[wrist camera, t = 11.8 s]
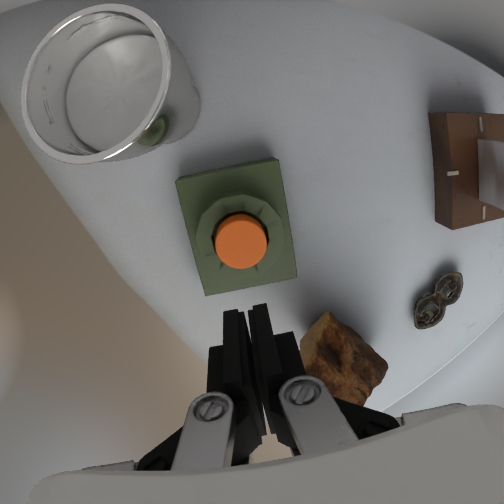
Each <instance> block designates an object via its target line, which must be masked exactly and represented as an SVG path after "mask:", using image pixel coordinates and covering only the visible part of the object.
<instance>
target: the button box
mask: <svg viewBox="0 0 504 504" xmlns="http://www.w3.org/2000/svg"><path fill="white" fill-rule="evenodd" d="M175 184H176V188H177V192H178V196H179V200H180V204H181V208H182V212H183V216H184V220H185V224H186V228H187V231H188V235H189V239H190V243H191V246H192V250H193V254H194V257H195V261H196V265H197V268H198V272H199V275H200V279H201V282H202V286H203V289H204V293H205V296H209V295H215V294H220V293H225V292H230V291H235V290H240V289H245V288H250V287H255V286H260V285H265V284H269V283H274V282H279V281H284V280H288V279H293V278H297V277H298V276H297V269H296V262H295V255H294V249H293V242H292V236H291V230H290V223H289V217H288V211H287V205H286V199H285V193H284V187H283V181H282V176H281V170H280V164H279V160H278V159H276V158H269V159H263V160H258V161H253V162H248V163H242V164H238V165H233V166H228V167H223V168H218V169H214V170H209V171H205V172H200V173H196V174H192V175H188V176H183V177H180V178H178V179H177V180H176V181H175ZM237 214H244V215H249V216H251V217H253V218H255V219H256V220H257V221H258V222H259V223H260V224H261V226H262V228H263V230H264V233H265V236H266V239H267V248H266V252H265V254H264V256H263V258H262V259H261V260H260V261H259V262H258V263H257V264H255V265H253V266H251V267H249V268H244V269H238V268H233V267H230V266H228V265H226V264H225V263H224V262H222V261H221V259H220V258H219V257H218V255H217V252H216V249H215V240H216V233H217V229H218V227H219V225H220V224H221V223H222V222H223V221H224V220H225V219H226V218H228V217H230V216H232V215H237Z"/></svg>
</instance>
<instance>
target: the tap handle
mask: <svg viewBox="0 0 504 504" xmlns="http://www.w3.org/2000/svg"><path fill="white" fill-rule="evenodd" d="M477 144H478V163H479V200H480V201H483V202H485V203H488V204H491V205H493V206H496V207H498V208H500V209H503V210H504V141H499V140H493V139H477Z"/></svg>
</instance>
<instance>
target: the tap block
mask: <svg viewBox="0 0 504 504" xmlns="http://www.w3.org/2000/svg"><path fill="white" fill-rule="evenodd" d="M428 116H429V123H430V132H431V141H432V151H433V164H434V180H435V221H436V222H438V223H439V224H441V225H443V226H445V227H447V228H449V229H451V230H455V229H459V228H463V227H467V226H471V225H475V224H479V223H483V222H487V221H491V220H495V219H499V218H503V217H504V210H503V209H500V208H498V207H496V206H493V205H491V204H488V203H485V202H483V201H480V200H479V163H478V144H477V139H493V140H499V141H504V114H489V113H458V112H437V113H428Z"/></svg>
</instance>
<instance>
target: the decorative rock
mask: <svg viewBox="0 0 504 504" xmlns="http://www.w3.org/2000/svg"><path fill="white" fill-rule="evenodd" d="M299 352H300V355H301V358H302V362H303V365H304V368H305V371H306V374H307V376H313V377H316V378H318V379H320V380H321V381H322V382H323V383H324V384H325V386H326V387H327V389H328V391H329V392H330V394H331V396H333V397H336V398H339V399H342V400H345V401H348V402H351V403H354V404H357V405H360V406H364V404H365V402H366V399H367V398H368V397H369V396H370V395H371V393H372V390H373V388H375V387H376V386H378V385H379V384H380V383H381V382H382V380H383V378H384V376H385V374H386V372H387V370H388V364H387V362H386V361H385V360H384V359H383V358H382V357H381V356H379V355H378V354H377V353H376V352H375V351H374V349H373V348H372V347H371V346H369V345H368V344H366V343H365V342H364V341H363V340H362V338H361V337H360V335H359V334H358V333H357V332H355V331H354V330H353V329H352V328H350V327H348V326H346V325H343V324H342V323H340V322H339V321H338V320H337V319H336V318H335V317H334V315H333V314H332V313H331V312H330V311H325V312H324V314H322V315H321V317H320V318H319V319H318V320H317V321H316V322H315V323H314V324H313V325H312V326H311V327H310V328H309V329H308V331H307V332H306V334H305V335H304V337H303V338H302V339H301V340H300V351H299Z"/></svg>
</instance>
